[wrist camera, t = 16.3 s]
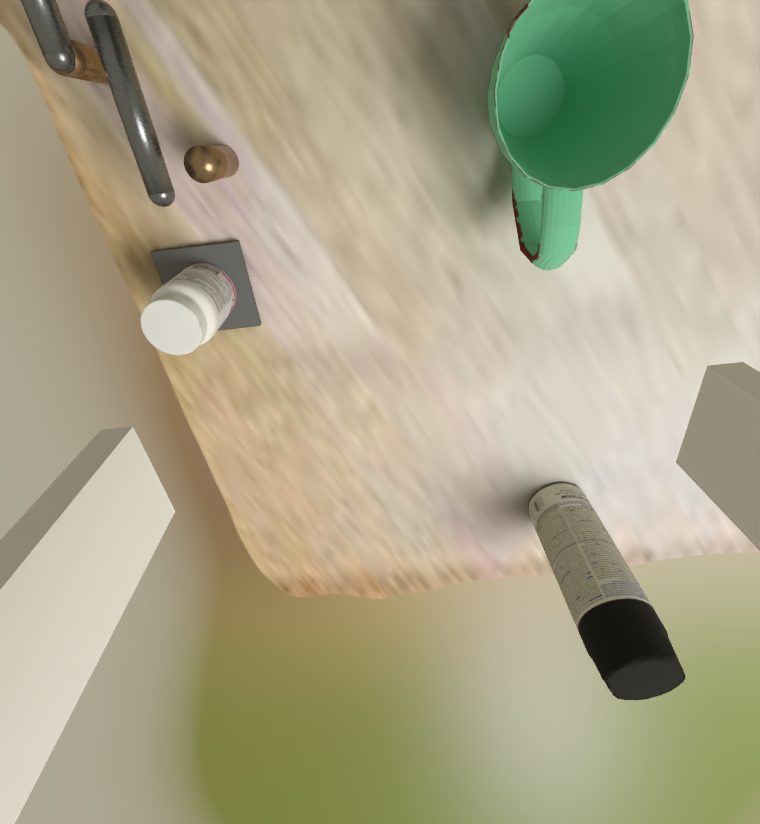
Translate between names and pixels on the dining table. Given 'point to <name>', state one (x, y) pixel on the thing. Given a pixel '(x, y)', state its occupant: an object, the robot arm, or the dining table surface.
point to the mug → (582, 104)
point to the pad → (225, 259)
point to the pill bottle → (188, 309)
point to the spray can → (604, 596)
